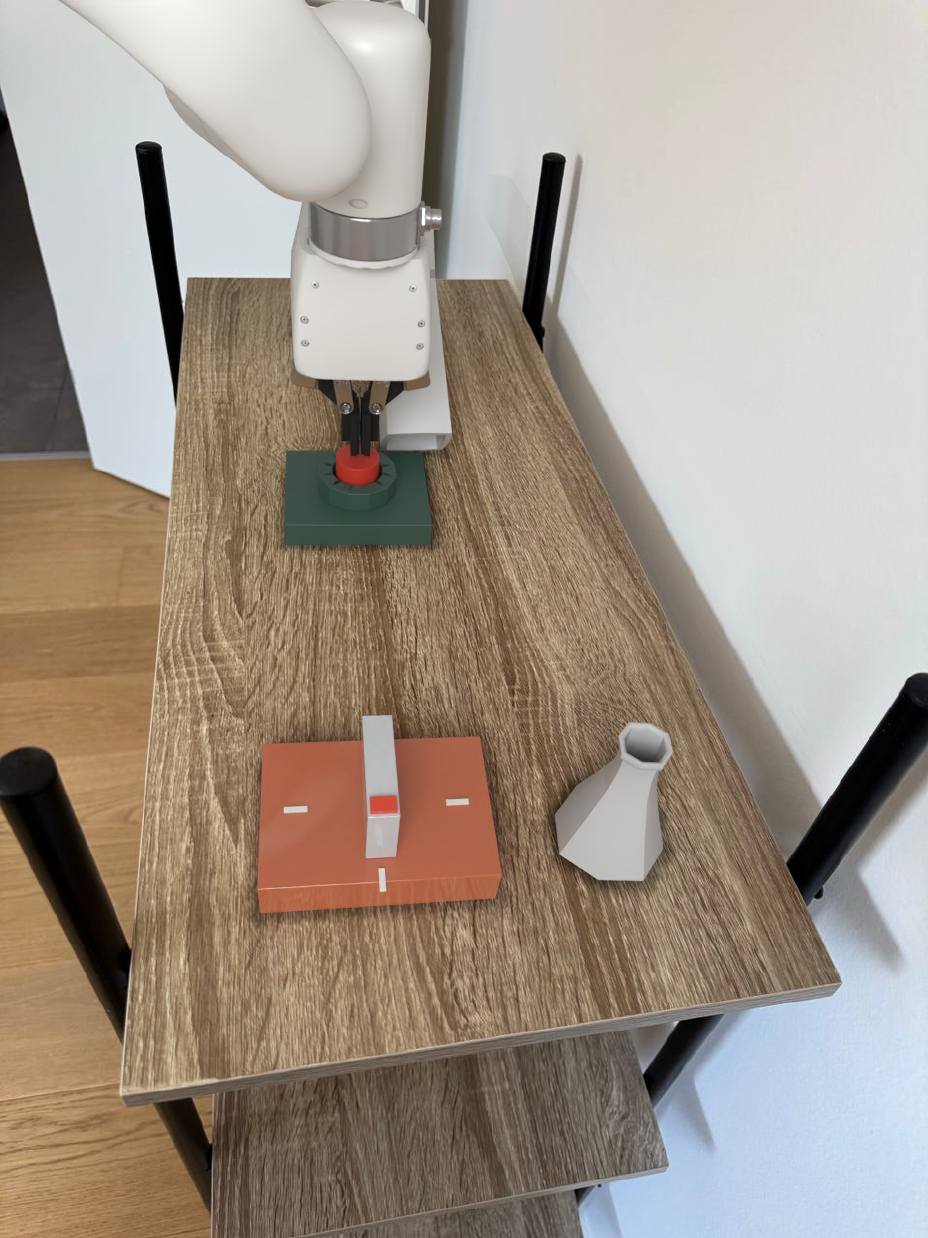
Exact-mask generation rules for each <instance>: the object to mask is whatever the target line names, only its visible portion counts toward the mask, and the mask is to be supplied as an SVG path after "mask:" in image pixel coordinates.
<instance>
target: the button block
mask: <svg viewBox="0 0 928 1238" xmlns="http://www.w3.org/2000/svg"><path fill="white" fill-rule="evenodd" d="M339 449H340V448H338V449H335V450H329V451H328V450H286V451H285V452H286V453H285V482H284V483H285V491H284V494H285V495H284V542H285V546H428V545H431V542H432V541H431V540H432V532H433V520H432V515H431V508H430V500H429V493H428V487H427V479H426V473H425V465H424V458H423V453H422V452H414V451H379V450H376V451H377V453H378V454H379V476H378V478H377V480H376V481H375V482H373V483H371V484H368V485H349V484H347V483H344V482H341V481H340V480H339V479H338V478H337V476H336V453H337V452H338V450H339Z"/></svg>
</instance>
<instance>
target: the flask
mask: <svg viewBox="0 0 928 1238" xmlns="http://www.w3.org/2000/svg"><path fill="white" fill-rule="evenodd" d="M617 745H618V746H617V747H618V750H617V752H616V755H615V757H614V758H613V759H612V760H611V761H609V762H608V763H606V765H604V766H603V767H601V768H600V769H599V770H598V771H596V772H594V773H593V774H592V775H590V776H588V777H587V778H585V779H584V780H582V781H581V782H579V783H578V784H576V786H575V787H574V788H573V789H572V791H571V792H570V793H569V795H568V796H567V798H566V799H565V800H564V802H563V803H562V805H561V806H559V808H558V810H557V811H556V812H555V813H554V820H555V826H556V827H555V828H556V837H557V838H556V839H557V847H558V854H559V855H560V856H561V857H563V858H564V859H566V860H568V861H569V862H571V863H572V864H573V865H574V866H576V867H578V868H579V869H581V870H583V871H584V872H585V873H587V874H588V875H590V876H592V877H593V878H595V879H596V880H597V881H627V882H630V881H632V882H643V881H645V879H646V878H647V875H648V874H649V873H650V871H651V869H652V867H653V866H654V864H655V863H656V861H657V859H658V858H659V857H660V855H661V853H662V852H663V850H664V842H663V836H662V835H663V833H662V826H661V822H660V811H659V802H658V792H657V789H658V781H659V775H660V771H662V770H663V769H664V767H665V766H666V765H667V763H668V762H669V760H670V759H671V757H672V756H673V753H674V751H673V746H672V741H671V737H670V734H669V733H668V732H666V731H664V730H663V729H661V728H659V727H657V726H656V725H654V724H652V723H651V722H636V721H635V722H634V721H628V722H627V724H626V725H625V726H624V728H623V729H622V730H621V732H620V733H619V735H618V736H617Z"/></svg>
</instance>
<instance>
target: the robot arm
mask: <svg viewBox="0 0 928 1238" xmlns="http://www.w3.org/2000/svg"><path fill="white" fill-rule="evenodd" d="M58 2H60V3H62V4H63V5H64V6H65V7H66V8H68V9H70V10H71V11H72V12H74V13H75V14H77V15H79V16H80V17H81V18H82V19H84V20H85V21H87V22H88V23H89V24H91V25H92V26H94V27H95V28H96V29H97V30H99V31H100V32H101V33H103V34H104V35H105V36H106V37H107V38H109V40H111V41H112V42H113V43H115V44H116V45H117V46H118V47H120V48H121V49H122V50H123V51H124V52H125V53H127V54H128V55H129V56H130V57H131V58H132V59H134V60H135V61H136V62H137V63H138V64H139V65H140V66H141V67H142V68H144V69H145V71H147V72H148V73H149V74H150V75H152V77H154V78H155V80H157V81H158V82H159V83H160V84H161V85H162V86H163V90H164V92H165V96H166V97H167V99H168V101H169V103H170V105H171V106H172V108H173V110H174V111H175V113H176V114H177V115H178V116H179V118H180V119H181V120H182V121H183V122H184V123H185V125H187V126H188V127H189V128H190V129H191V130H192V131H193V132H194V133H195V134H196V135H198V136H199V137H201V138H202V139H203V140H204V141H206V142H207V143H208V144H209V145H211V146H212V147H213V148H215V150H217V151H218V152H219V153H221V154H222V155H223V156H225V157H227V158H228V159H230V160H231V161H233V162H234V163H235V164H237V166H239V167H240V168H241V169H243V170H244V171H245V172H247V173H248V174H249V175H250V176H251V177H253V178H254V179H255V180H256V181H257V182H259V184H261V185H262V186H264V187H265V188H266V189H267V190H269V191H270V192H272V193H273V194H276V195H277V196H279V197H282V198H284V199H286V200H290V201H295V202H298V203H302V202H308V227H306V228H304V229H302V230H301V231H300V232H299V234H298V238H297V243H296V249H295V256H294V265H293V280H292V319H291V340H292V342H291V343H292V355H293V358H292V362H291V365H290V371H289V372H290V373H289V374H290V375H289V376H290V377H289V378H290V379H289V380H290V382H291V384H292V385H294V386H299V387H304V388H306V389H312V390H315V389H316V390H319V392H320V393H322V394H323V395H324V396H325V397H327V399H329V400H330V401H331V402H332V403H333V404H335V405H336V406H337V409H338V412H339V413H340V437H341V438H340V439H341V442H349V445H350V455H351V456H357V454H359V447H360V444H361V454H364V456H370V447H371V444H372V443H371V442H380V425H379V418H380V414H381V413H382V412H383V411H384V408H385V406H386V405H387V404H388V403H389V402H391V401H392V400H393V399H394V398H396V397H397V396H398V395H399V394H401V393H402V392H403V391H405V390H407V391H411V390H416V389H421V388H426V387H428V386H429V385H430V383H431V380H430V374H429V369H428V367H429V361H430V347H431V282H430V258H429V250H428V244H427V240H426V238H425V237H424V231H425V232H430V230H434V231H442V223H443V212H442V208H431V206H430V205H429V206H428V205H426V203H425V201H424V200H422V194H423V178H424V165H425V164H424V163H425V150H426V135H427V133H426V132H427V119H428V107H429V106H428V105H429V90H430V89H429V88H430V87H429V86H430V74H431V56H432V55H431V52H432V49H431V48H432V45H431V39H430V35H429V32H428V29H427V27H426V25H425V24H424V22H423V21H422V20H421V18H419V16H417V15H416V14H415V13H412V12H411V11H408V10H407V9H405V8H402V7H400V6H397V5H393V4H389V3H385V2H379V1H372V0H337V1H333V2H329V3H325V4H323V5H320V6H317V7H311V6H310V5H309V4H308V3H307V1H306V0H58ZM352 381H355V382H356V381H357V382H358V381H359V382H368V383H367V388H366V391H364V392H363V393H362V396H361V397H360V398H359V396H357V395H358V394H357V392H356V391H355V390H354V389H353V382H352Z"/></svg>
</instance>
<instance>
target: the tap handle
mask: <svg viewBox="0 0 928 1238" xmlns="http://www.w3.org/2000/svg"><path fill="white" fill-rule="evenodd" d="M360 735H361V736H360V740H361V758H360V760H361V780H362V800H363V819H364V839H365V858H382V857H396V854H397V845H398V835H399V825H400V804H399V792H398V780H397V768H396V756H395V744H394V739H395V733H394V721H393V715H392V714H377V715H362V717H361V733H360Z"/></svg>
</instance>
